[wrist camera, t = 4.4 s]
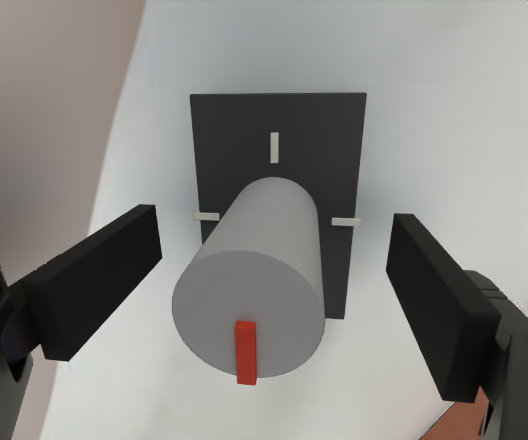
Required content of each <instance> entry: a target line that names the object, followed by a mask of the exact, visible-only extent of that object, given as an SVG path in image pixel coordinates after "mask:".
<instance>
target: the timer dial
mask: <svg viewBox="0 0 528 440" xmlns="http://www.w3.org/2000/svg"><path fill="white" fill-rule="evenodd" d="M172 314H173V319H174V323H175V325H176V328H177V330H178V332H179V334H180V336H181V338H182V339H183V341H184V342H185V344H186V345H187V346H188V347H189V348H190V350H191V351H192V352H193V353H195V354H196V355H197V356H198V357H199V358H200V359H202V360H203V361H204V362H206V363H208V364H209V365H211V366H213V367H215V368H217V369H219V370H221V371H224V372H226V373H229V374H233V375H237V383H238V384H244V385H256V380H257V378H265V377H272V376H277V375H281V374H284V373H287V372H289V371H292V370H293V369H295V368H297V367H299V366H300V365H302V364H303V363H304V362H306V361H307V360H308V359H309V358H310V357H311V356H312V354H313V353H314V352H315V350H316V349H317V347H318V346H319V344H320V342H321V339H322V336H323V333H324V327H325V311H324V297H323V283H322V269H321V255H320V241H319V227H318V214H317V209H316V206H315V203H314V201H313V199H312V198H311V196H310V195H309V194H308V192H307V191H306V190H305V189H304V188H302V187H301V186H300V185H298V184H297V183H295V182H293V181H291V180H288V179H284V178H279V177H268V178H262V179H259V180H257V181H254V182H252V183H251V184H249V185H248V186H246V187H245V188H244V189H243V190H242V191H241V192H240V194H239V195H238V196H237V198H236V199H235V201H234V202H233V204H232V205H231V206H230V208H229V209H228V211H227V212H226V213H225V215H224V216H223V218H222V219H221V220H220V222H219V223H218V225H217V226H216V227H215V229H214V230H213V232H212V233H211V234H210V236H209V237H208V239H207V240H206V241H205V243H204V244H203V246H202V247H201V248H200V250H199V251H198V253H197V254H196V255H195V257H194V258H193V260H192V261H191V263H190V264H189V265H188V267H187V268H186V270H185V271H184V272H183V274H182V275H181V277H180V278H179V280H178V282H177V284H176V286H175V289H174V293H173V297H172Z"/></svg>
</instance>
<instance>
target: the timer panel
mask: <svg viewBox="0 0 528 440" xmlns="http://www.w3.org/2000/svg"><path fill="white" fill-rule="evenodd" d="M366 96H367V94H366V93H365V92H363V93H260V94H190V105H191V117H192V128H193V140H194V152H195V163H196V175H197V187H198V198H199V210H200V213H198V212H194V213H193V219H194V220H200V222H201V234H202V245H203V244H204V243H205V241H206V240H207V239H208V237H209V236H210V234H211V233H212V232H213V230H214V229H215V227H216V226H217V225H218V223H219V222H220V220H221V219H222V218H223V216H224V215H225V213H226V212H227V211H228V209H229V208H230V206H231V205H232V204H233V202H234V201H235V199H236V198H237V196H238V195H239V194H240V192H241V191H242V190H243V189H244V188H245V187H246V186H248V185H249V184H251V183H252V182H254V181H257V180H259V179H262V178H268V177H279V178H284V179H288V180H291V181H293V182H295V183H297V184H298V185H300V186H301V187H302V188H304V189H305V190H306V191H307V192H308V194H309V195H310V196H311V198H312V199H313V201H314V203H315V206H316V209H317V214H318V227H319V241H320V255H321V269H322V283H323V297H324V311H325V318H331V319H344V316H345V306H346V296H347V286H348V276H349V266H350V256H351V246H352V236H353V226H360V225H361V219H355V218H354V216H355V206H356V196H357V186H358V176H359V166H360V156H361V146H362V136H363V126H364V116H365V106H366Z"/></svg>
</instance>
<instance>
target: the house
mask: <svg viewBox="0 0 528 440" xmlns="http://www.w3.org/2000/svg"><path fill="white" fill-rule="evenodd" d="M488 402H489V400H488V398H487V397H486V395H485V393H484V392H483V390H482V388H481V387H479V390H478V393H477V396H476V400H475V403H474V404H473V403H464V402H456V403H455V404H454V405H453V406H452V407H451V408H450V409H449V410H448V411H447V412H446V413H445V414H444V415H443V416H442V417H441V418H440V419H439V420H438V421H437V423H436V424H435V425H434V426H433V427H432V428H431V429H430V430H429V431H428V432H427V433H426V434H425V435H424V436H423V437H422V438H421V439H420V440H480V438H481V436H480V435H478V432H479V429H480V426H481V423H482V420H483V417H484V414H485V411H486V408H487V405H488Z"/></svg>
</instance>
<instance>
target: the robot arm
mask: <svg viewBox="0 0 528 440" xmlns="http://www.w3.org/2000/svg"><path fill="white" fill-rule="evenodd" d="M161 259H162V252H161V245H160V237H159V230H158V223H157V216H156V208H155V205H145V204H139V205H137V206H136V207H134V208H133V209H131V210H130V211H128V212H127V213H125V214H123V215H122V216H120V217H119V218H117V219H116V220H114V221H112V222H111V223H109V224H108V225H106V226H105V227H103V228H101V229H100V230H98V231H97V232H95V233H94V234H92V235H90V236H89V237H87V238H86V239H84V240H83V241H81V242H80V243H78V244H76V245H75V246H73V247H72V248H70V249H69V250H67V251H66V252H64V253H62V254H60V255H58V256H56V257H55V258H53V259H52V260H50V261H48V262H47V264H44V265H42V266H40V267H39V268H37V270H34V271H33V272H31V273H30V274H28V275H26V276H25V277H23V278H22V279H20V280H18V281H17V282H15V283H13V284H12V285H10V286H9V287H8V286H7V283H6V280H5V278H4V275H3V272H2V269H1V266H0V440H11V438H12V435H13V431H14V428H15V425H16V421H17V417H18V414H19V411H20V407H21V404H22V401H23V397H24V394H25V390H26V387H27V384H28V380H29V377H30V374H31V370H32V367H33V358H32V356H31V353H30V352H31V351H33V349H35V348H36V347H37V346H38V345H39V344H41V347H42V350H43V353H44V356H45V359H48V360H58V361H67V362H69V361H70V360H71V358H72V357H73V356H74V355H75V354H76V353H77V352H78V351H79V350H80V348H81V347H82V346H83V345H84V344H85V343H86V342H87V341H88V340H89V339H90V337H91V336H92V335H93V334H94V333H95V332H96V331H97V330H98V329H99V328H100V326H101V325H102V324H103V323H104V322H105V321H106V320H107V319H108V318H109V316H110V315H111V314H112V313H113V312H114V311H115V310H116V309H117V308H118V307H119V305H120V304H121V303H122V302H123V301H124V300H125V299H126V298H127V297H128V295H129V294H130V293H131V292H132V291H133V290H134V289H135V288H136V287H137V286H138V284H139V283H140V282H141V281H142V280H143V279H144V278H145V277H146V276H147V274H148V273H149V272H150V271H151V270H152V269H153V268H154V267H155V266H156V265H157V263H158V262H159V261H160V260H161ZM386 272H387V275H388V277H389V279H390V282H391V284H392V286H393V288H394V291H395V293H396V295H397V298H398V300H399V302H400V304H401V307H402V309H403V311H404V314H405V316H406V318H407V320H408V323H409V325H410V327H411V330H412V332H413V334H414V336H415V339H416V341H417V343H418V345H419V348H420V350H421V352H422V355H423V357H424V359H425V361H426V364H427V366H428V368H429V371H430V373H431V375H432V377H433V380H434V382H435V384H436V387H437V389H438V391H439V393H440V396H441V398H442V400H444V401H454V402H464V403H473V404H474V403H475V400H476V396H477V393H478V390H479V387H481V388H482V390H483V392H484V393H485V395H486V397H487V398H488V400H489V402H488V405H487V408H486V411H485V414H484V417H483V420H482V423H481V426H480V429H479V432H478V435H480V436H481V438H480V440H528V318H527V317H526V316H525V315H524V314H523V313H522V312H521V311H520V310H519V309H518V308H517V307H516V306H515V305H514V304H513V303H512V302H511V301H510V300H508V298H507V297H506V296H505V295H504V294H503V292H502V291H499V290H500V289H499V288H498V287H497V286H496V285H495V284H494V283H493V282H492V281H491V280H490V279H488V278H486V277H485V276H483V275H481V274H479V273H478V272H476V271H471V270H462V268H461V267H460V266H459V265H458V264H457V263H456V262H455V261H454V259H453V258H452V257H451V256H450V255H449V254H448V253H447V251H446V250H445V249H444V248H443V247H442V246H441V245H440V244H439V242H438V241H437V240H436V239H435V238H434V237H433V236H432V235H431V233H430V232H429V231H428V230H427V229H426V228H425V227H424V225H423V224H422V223H421V222H420V221H419V220H418V219H417V218H416V216H415V215H414V214H398V213H394V219H393V225H392V232H391V239H390V246H389V252H388V259H387V266H386Z"/></svg>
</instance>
